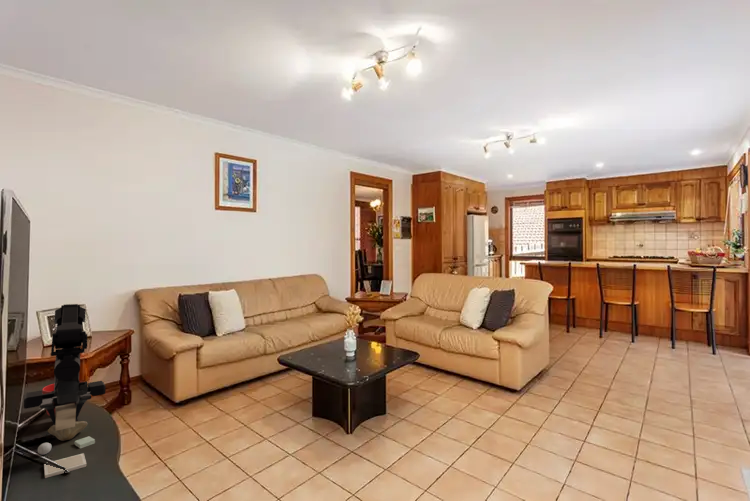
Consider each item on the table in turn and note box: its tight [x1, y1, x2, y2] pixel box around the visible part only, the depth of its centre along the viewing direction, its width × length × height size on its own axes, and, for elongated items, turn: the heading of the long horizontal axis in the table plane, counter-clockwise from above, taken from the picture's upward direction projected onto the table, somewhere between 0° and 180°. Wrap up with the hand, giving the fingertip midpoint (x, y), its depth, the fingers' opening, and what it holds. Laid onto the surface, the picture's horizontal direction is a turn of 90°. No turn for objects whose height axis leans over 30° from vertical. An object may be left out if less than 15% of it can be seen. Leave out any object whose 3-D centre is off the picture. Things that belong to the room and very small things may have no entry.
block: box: [55, 403, 76, 431], centre depth 113 cm, size 4×4×6 cm
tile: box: [74, 435, 96, 449], centre depth 121 cm, size 4×4×2 cm
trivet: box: [43, 452, 87, 479], centre depth 108 cm, size 7×9×1 cm
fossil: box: [47, 420, 88, 442], centre depth 123 cm, size 9×4×10 cm
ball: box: [37, 442, 52, 455], centre depth 114 cm, size 3×3×3 cm
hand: (65, 422), depth 113 cm, fingers closed on block, 4 cm apart
